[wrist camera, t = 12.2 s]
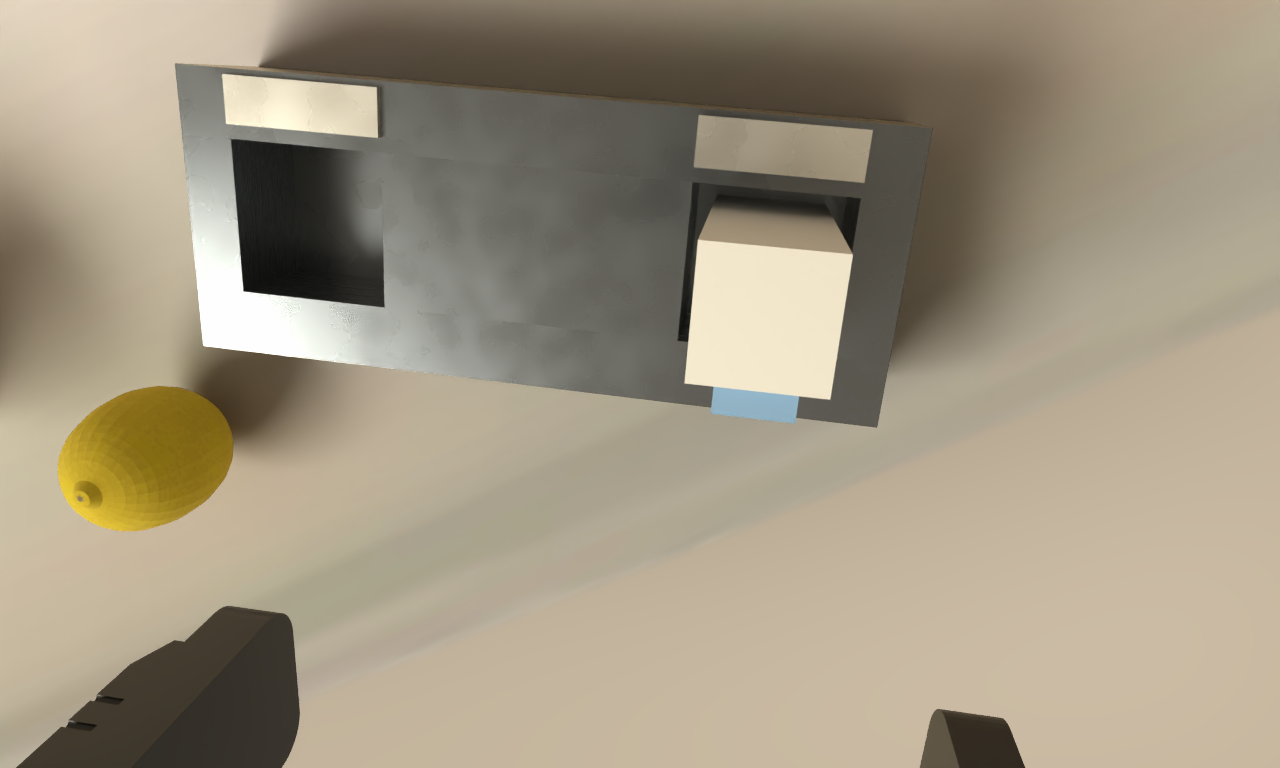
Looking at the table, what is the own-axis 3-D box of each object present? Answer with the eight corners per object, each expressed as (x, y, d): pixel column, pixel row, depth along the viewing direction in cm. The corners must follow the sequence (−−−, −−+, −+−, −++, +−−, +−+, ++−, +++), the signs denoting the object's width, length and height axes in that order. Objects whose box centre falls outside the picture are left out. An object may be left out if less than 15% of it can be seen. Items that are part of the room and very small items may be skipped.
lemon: (283, 400, 38) (166, 476, 31) (247, 495, 40) (128, 589, 33) (172, 341, 38) (26, 403, 30) (141, 440, 40) (-3, 521, 32)
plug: (716, 194, 32) (698, 239, 22) (825, 204, 31) (852, 254, 22) (704, 324, 33) (681, 416, 24) (807, 335, 33) (825, 433, 24)
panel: (257, 66, 33) (171, 63, 29) (907, 122, 31) (933, 128, 26) (274, 313, 37) (199, 347, 32) (861, 381, 34) (877, 429, 29)
